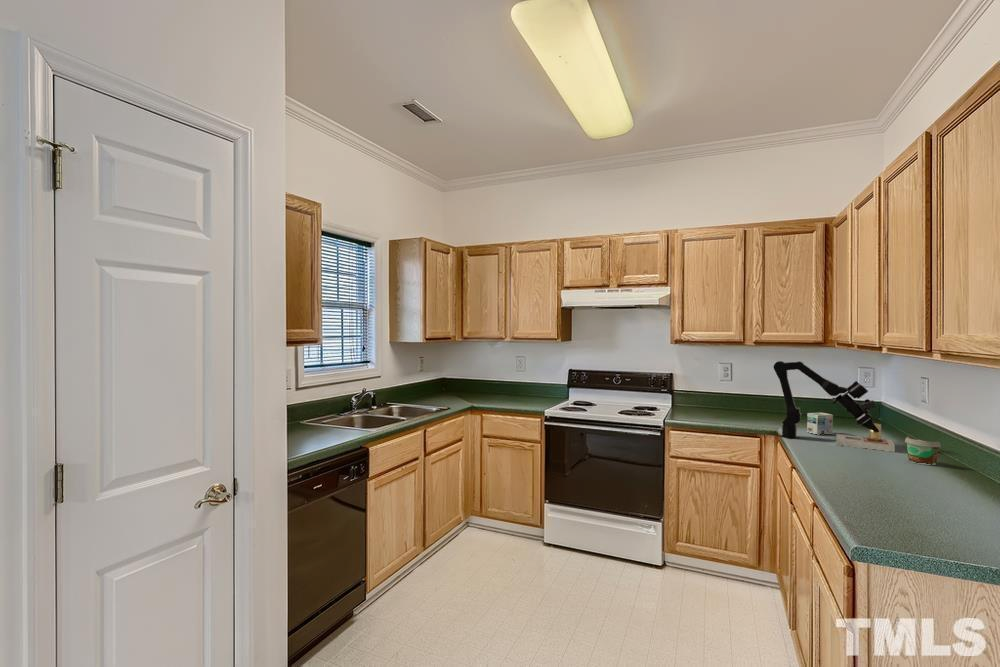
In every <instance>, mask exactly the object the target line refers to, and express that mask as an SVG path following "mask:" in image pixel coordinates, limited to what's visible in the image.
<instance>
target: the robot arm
mask: <svg viewBox="0 0 1000 667" xmlns="http://www.w3.org/2000/svg"><path fill="white" fill-rule="evenodd" d="M773 370H774V372H775V374H776V375H777V377H778V379H779V383H780V385H781V389H782V390H781V391H782V393H783V398H784V401H785V404H786V417H785V418H784V419H782V425H781V428H782V430H781V431H782V432H781V433H782V434H779V437H782V438H786V439H790V440H791V439H792V440H793V439H799V438H800V437H799V436H797V425H796V424H799V422H800V421H801V418H802V412H801V407H800V406H799V407H797V406H796V403H795V400H794V397H793V393H792V389H791V385H790V382H789V379H788V371H792V370H793V371H794V370H798V371H800V372H801V373H803V374H804V375H805V376H807V377H808V378H810V379H811V380H812V381H814V383H816V384H818V385H819V386H820V387H821V388H822V389H823V390H824V391H825V392H826V393H827V394H828V395H829V396H831V397H832V398H831V399H832V404H836V403H838V404H839V405H840V406H841V407H843V408H844V409H845V410H846V411H847V413H849V414H850V415H851V416H852V417H853V418H854V419H855V422H856V423H857V425H859V426H861V427H863V428H866V429H868V430H869V429H870V430H873V431H875V432H877V433H878V432H879V430H878V429H877V427H876V426H875V425H874V423H875V422H874V421H873V417H872V415H871V413H870V411H869V410H873V409H876V408H878V406H877V404H876V402H875V400H870V399H868V398H866V399H864V401H863V402H862V403H859V402H857V401H856V400H854V399H861V398H862V397H863V396H865V395H866V394H867V393H869V390H868V389H867V388H866V387H864V385H862V384H861V383H859V382H858V381H857V380H855V381H853V383H852V384H850V385H849V386H848V387H845V386H839V384H837V383H835V382H833V381H831V380H829V379H826V378H825V377H823V376H822V375H820V374H819V373H818V372H816V371H814V370H813V369H811V368H810V367H809V366H807V365H806V364H804V362H802V361H793V362H792V361H788V362H785V361H782V360H779V361H776V362H775V363H774V365H773Z"/></svg>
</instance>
